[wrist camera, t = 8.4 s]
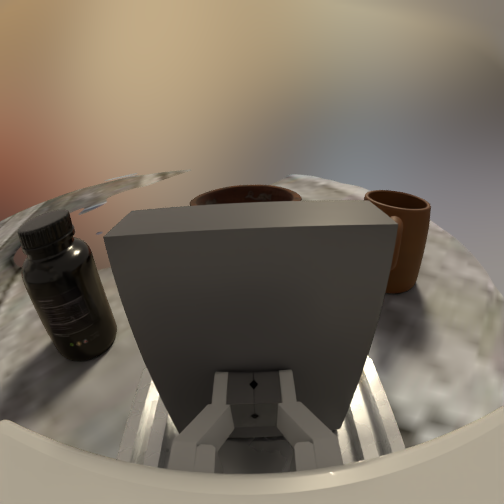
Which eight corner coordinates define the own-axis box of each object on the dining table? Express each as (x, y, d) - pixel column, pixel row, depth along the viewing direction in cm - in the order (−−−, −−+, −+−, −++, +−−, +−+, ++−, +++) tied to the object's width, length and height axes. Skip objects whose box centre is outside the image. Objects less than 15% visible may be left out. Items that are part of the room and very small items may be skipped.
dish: (222, 204, 60) (220, 181, 57) (325, 217, 50) (326, 190, 47) (163, 233, 46) (158, 205, 44) (287, 259, 36) (288, 222, 34)
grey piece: (112, 549, 6) (6, 510, 3) (167, 329, 24) (146, 243, 21) (415, 538, 6) (517, 492, 3) (345, 321, 24) (358, 233, 21)
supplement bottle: (58, 326, 24) (18, 218, 19) (114, 310, 27) (83, 198, 22) (56, 371, 19) (-4, 245, 13) (123, 353, 21) (78, 219, 16)
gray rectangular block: (179, 435, 13) (103, 236, 8) (193, 356, 19) (160, 186, 14) (340, 429, 13) (398, 223, 8) (320, 351, 19) (338, 178, 14)
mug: (411, 328, 22) (438, 232, 18) (336, 310, 26) (348, 215, 22) (416, 269, 32) (429, 196, 27) (361, 257, 35) (368, 186, 31)
